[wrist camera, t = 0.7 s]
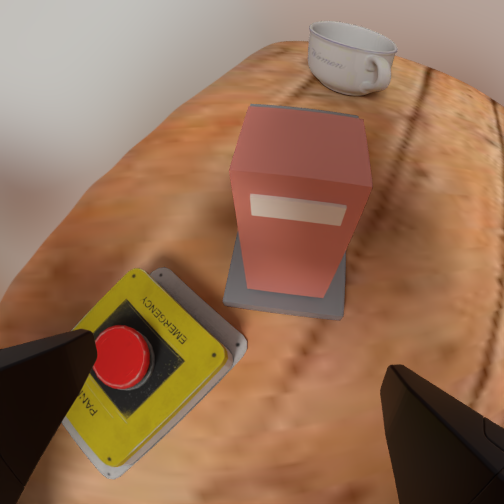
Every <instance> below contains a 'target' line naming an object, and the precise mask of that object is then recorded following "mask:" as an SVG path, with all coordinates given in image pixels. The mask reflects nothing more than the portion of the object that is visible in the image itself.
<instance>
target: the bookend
mask: <svg viewBox="0 0 504 504" xmlns="http://www.w3.org/2000/svg"><path fill="white" fill-rule="evenodd" d="M250 106H253V107H269V108H282V109H293V110H302V111H311V112H319V113H327V114H334V115H340V116H347V117H353V118H358V116H356V115H350V114H344V113H337V112H330V111H323V110H315V109H307V108H297V107H287V106H275V105H261V104H251V105H250ZM345 270H346V251H345V253H344V256H343V258H342V260H341V262H340V264H339V266H338V268H337V271H336V273H335V275H334V277H333V279H332V281H331V283H330V285H329V287H328V289H327V291H326V293H325V295H324V297H323V298H318V297H309V296H301V295H293V294H285V293H277V292H269V291H261V290H254V289H247V283H246V277H245V270H244V264H243V258H242V251H241V245H240V239H239V232H237V237H236V241H235V246H234V251H233V255H232V260H231V264H230V269H229V274H228V278H227V283H226V288H225V293H224V297H223V303H224V305H225V306H230V307H236V308H243V309H250V310H257V311H264V312H272V313H279V314H287V315H295V316H304V317H312V318H321V319H331V320H341V319H342V317H343V314H344V295H345Z"/></svg>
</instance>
